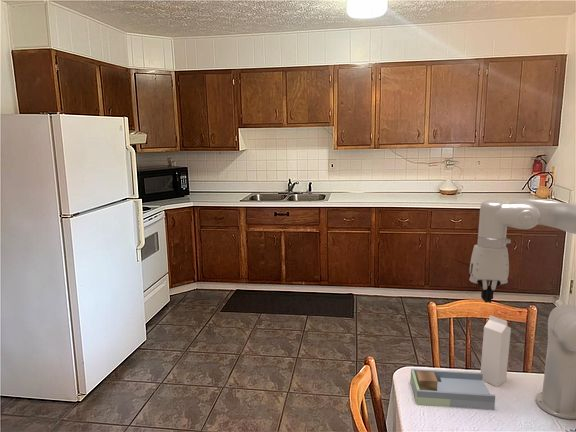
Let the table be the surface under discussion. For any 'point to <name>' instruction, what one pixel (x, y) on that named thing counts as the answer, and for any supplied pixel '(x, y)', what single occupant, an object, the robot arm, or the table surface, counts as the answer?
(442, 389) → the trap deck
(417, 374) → the block
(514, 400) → the table surface
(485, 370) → the milk
